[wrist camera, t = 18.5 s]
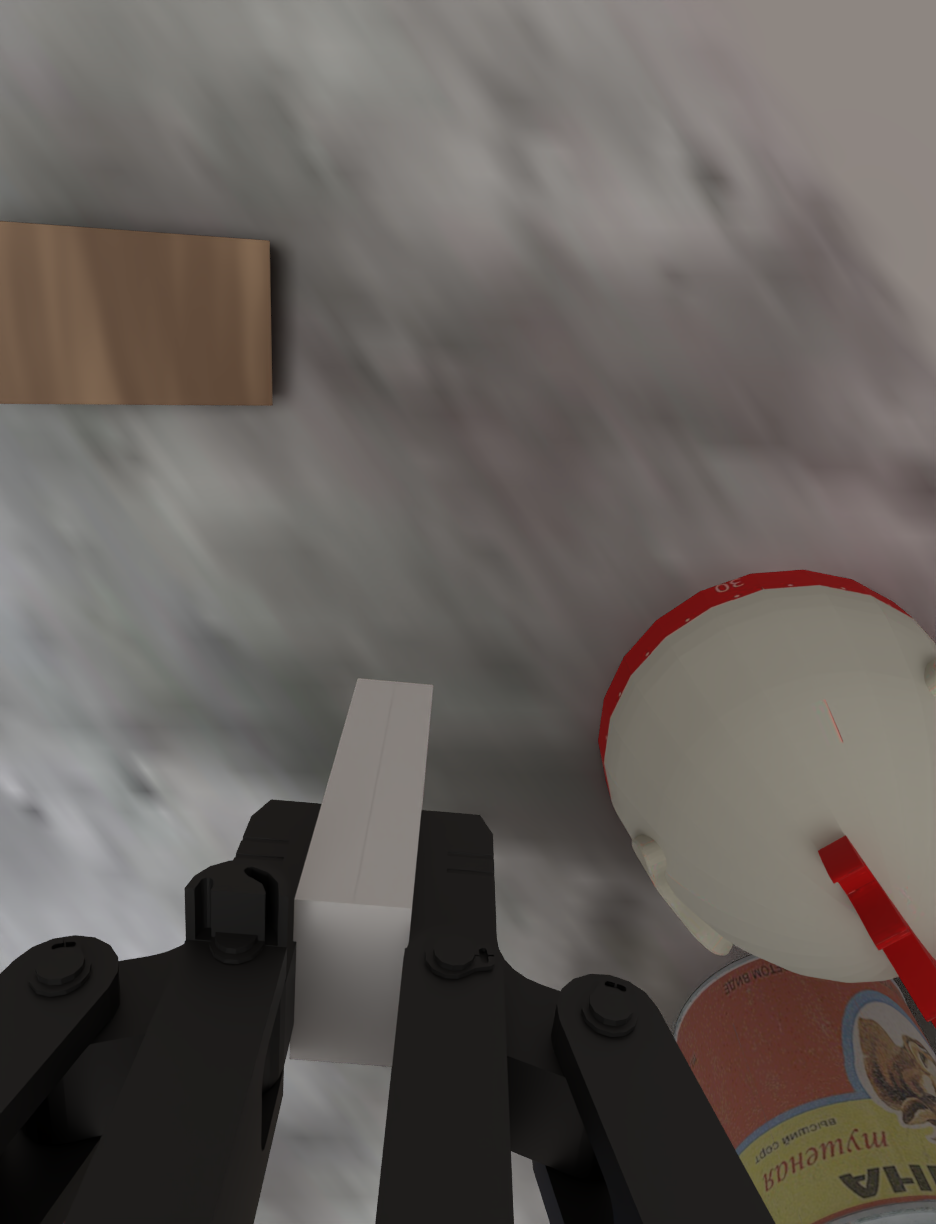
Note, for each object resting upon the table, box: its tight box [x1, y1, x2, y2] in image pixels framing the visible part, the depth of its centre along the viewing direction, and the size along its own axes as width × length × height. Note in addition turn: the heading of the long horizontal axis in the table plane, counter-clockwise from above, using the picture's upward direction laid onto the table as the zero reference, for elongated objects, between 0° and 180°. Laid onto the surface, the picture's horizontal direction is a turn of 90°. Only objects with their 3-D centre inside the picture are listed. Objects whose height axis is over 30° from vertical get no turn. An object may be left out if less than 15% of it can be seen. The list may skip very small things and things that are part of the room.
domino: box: [0, 221, 272, 405], centre depth 27 cm, size 2×5×10 cm
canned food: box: [674, 955, 936, 1224], centre depth 37 cm, size 11×11×12 cm
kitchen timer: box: [598, 570, 936, 1028], centre depth 29 cm, size 14×14×15 cm
